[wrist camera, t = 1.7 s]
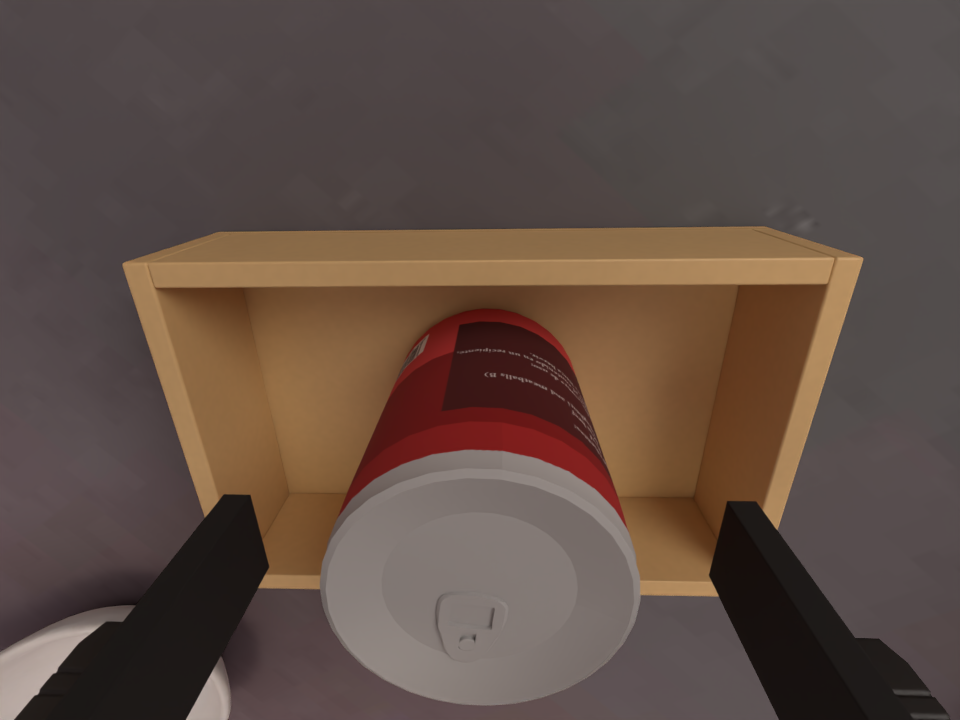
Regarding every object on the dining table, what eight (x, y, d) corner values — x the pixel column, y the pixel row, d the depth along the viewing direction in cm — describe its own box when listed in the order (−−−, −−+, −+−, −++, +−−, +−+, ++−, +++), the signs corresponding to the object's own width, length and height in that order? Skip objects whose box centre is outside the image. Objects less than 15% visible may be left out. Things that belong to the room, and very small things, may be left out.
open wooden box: (281, 498, 25) (226, 587, 20) (217, 231, 19) (119, 262, 14) (703, 503, 24) (756, 597, 19) (765, 226, 18) (865, 256, 13)
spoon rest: (229, 568, 27) (144, 703, 21) (272, 697, 32) (215, 839, 25) (-163, 567, 28) (-362, 694, 22) (-63, 691, 33) (-201, 826, 26)
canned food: (420, 469, 23) (361, 717, 13) (383, 313, 20) (267, 487, 10) (579, 453, 22) (645, 702, 12) (567, 289, 19) (644, 449, 9)
